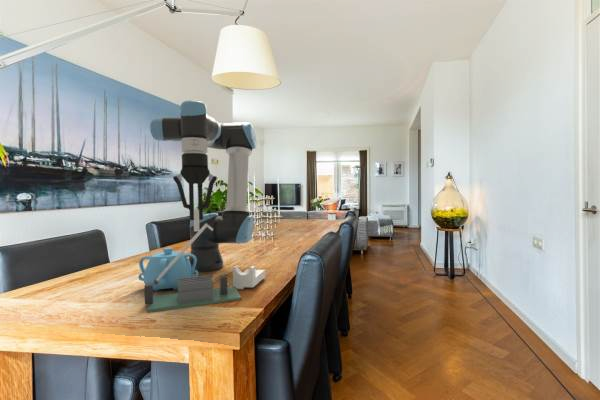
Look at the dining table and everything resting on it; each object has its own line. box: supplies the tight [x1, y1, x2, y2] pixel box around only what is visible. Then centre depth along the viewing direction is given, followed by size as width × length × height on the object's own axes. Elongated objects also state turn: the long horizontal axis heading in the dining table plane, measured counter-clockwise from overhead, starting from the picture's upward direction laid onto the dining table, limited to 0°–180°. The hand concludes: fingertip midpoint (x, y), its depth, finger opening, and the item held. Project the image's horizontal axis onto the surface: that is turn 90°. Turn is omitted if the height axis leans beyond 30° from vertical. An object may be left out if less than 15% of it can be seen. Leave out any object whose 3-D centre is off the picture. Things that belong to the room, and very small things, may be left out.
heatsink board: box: [144, 274, 242, 313], centre depth 100 cm, size 12×27×6 cm, turn 111°
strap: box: [153, 223, 213, 284], centre depth 99 cm, size 3×23×3 cm
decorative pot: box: [138, 247, 199, 292], centre depth 114 cm, size 16×16×14 cm
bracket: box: [232, 265, 266, 290], centre depth 116 cm, size 13×7×8 cm, turn 168°
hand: (196, 230), depth 100 cm, fingers closed
